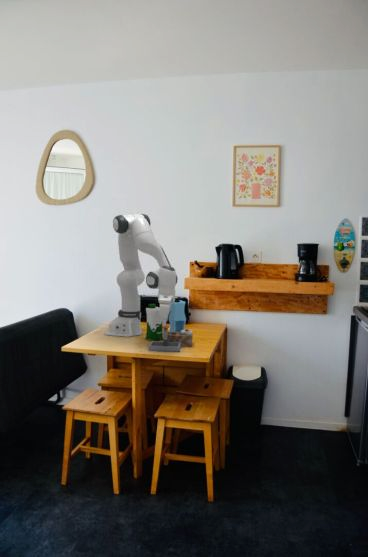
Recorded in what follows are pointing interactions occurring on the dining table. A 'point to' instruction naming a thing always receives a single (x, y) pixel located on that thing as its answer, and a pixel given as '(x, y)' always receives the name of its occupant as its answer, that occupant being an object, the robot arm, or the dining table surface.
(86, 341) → the dining table surface
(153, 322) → the milk carton
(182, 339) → the tensioner block
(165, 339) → the lock pin
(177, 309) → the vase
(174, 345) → the tray
